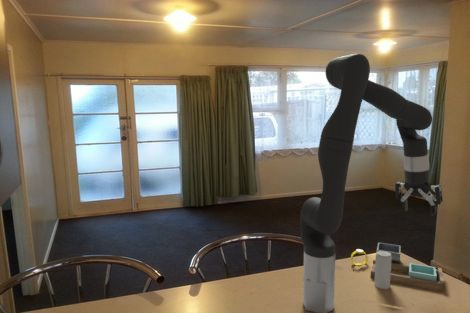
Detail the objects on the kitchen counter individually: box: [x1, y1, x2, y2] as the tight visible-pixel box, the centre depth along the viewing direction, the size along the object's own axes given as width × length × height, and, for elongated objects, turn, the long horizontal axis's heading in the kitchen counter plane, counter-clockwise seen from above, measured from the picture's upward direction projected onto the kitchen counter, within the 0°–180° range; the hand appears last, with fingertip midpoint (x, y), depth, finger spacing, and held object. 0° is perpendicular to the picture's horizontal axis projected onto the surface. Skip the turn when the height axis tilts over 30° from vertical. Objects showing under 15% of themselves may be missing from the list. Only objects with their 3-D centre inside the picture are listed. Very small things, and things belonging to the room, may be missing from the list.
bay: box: [370, 259, 445, 292], centre depth 122 cm, size 10×22×4 cm, turn 64°
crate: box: [408, 262, 438, 282], centre depth 120 cm, size 7×8×4 cm
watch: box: [350, 248, 369, 267], centre depth 133 cm, size 6×3×6 cm, turn 86°
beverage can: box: [374, 250, 392, 290], centre depth 116 cm, size 5×5×12 cm
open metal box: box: [376, 242, 402, 264], centre depth 133 cm, size 8×8×6 cm
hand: (419, 212), depth 120 cm, fingers open, 8 cm apart
